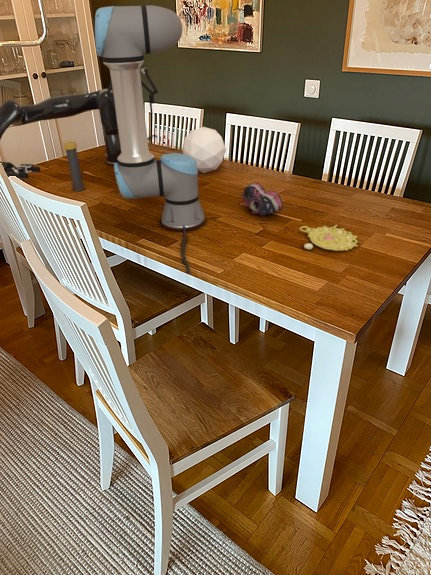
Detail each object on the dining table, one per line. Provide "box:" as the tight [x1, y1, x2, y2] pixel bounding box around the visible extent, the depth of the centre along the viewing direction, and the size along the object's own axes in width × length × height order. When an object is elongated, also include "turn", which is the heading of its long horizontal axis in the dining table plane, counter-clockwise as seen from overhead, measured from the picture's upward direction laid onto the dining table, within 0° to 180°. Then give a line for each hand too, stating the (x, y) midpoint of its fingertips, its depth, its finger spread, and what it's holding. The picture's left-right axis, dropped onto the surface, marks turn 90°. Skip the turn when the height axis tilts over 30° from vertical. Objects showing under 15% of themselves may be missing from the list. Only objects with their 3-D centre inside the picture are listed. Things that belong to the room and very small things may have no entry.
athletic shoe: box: [238, 182, 284, 217], centre depth 160 cm, size 11×22×12 cm
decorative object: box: [299, 224, 359, 252], centre depth 141 cm, size 21×2×20 cm
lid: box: [63, 141, 78, 151], centre depth 178 cm, size 5×5×2 cm
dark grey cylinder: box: [65, 148, 85, 192], centre depth 182 cm, size 4×4×19 cm
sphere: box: [181, 126, 227, 174], centre depth 199 cm, size 19×20×20 cm
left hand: (34, 172), depth 188 cm, fingers open, 8 cm apart
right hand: (134, 113), depth 180 cm, fingers open, 13 cm apart
